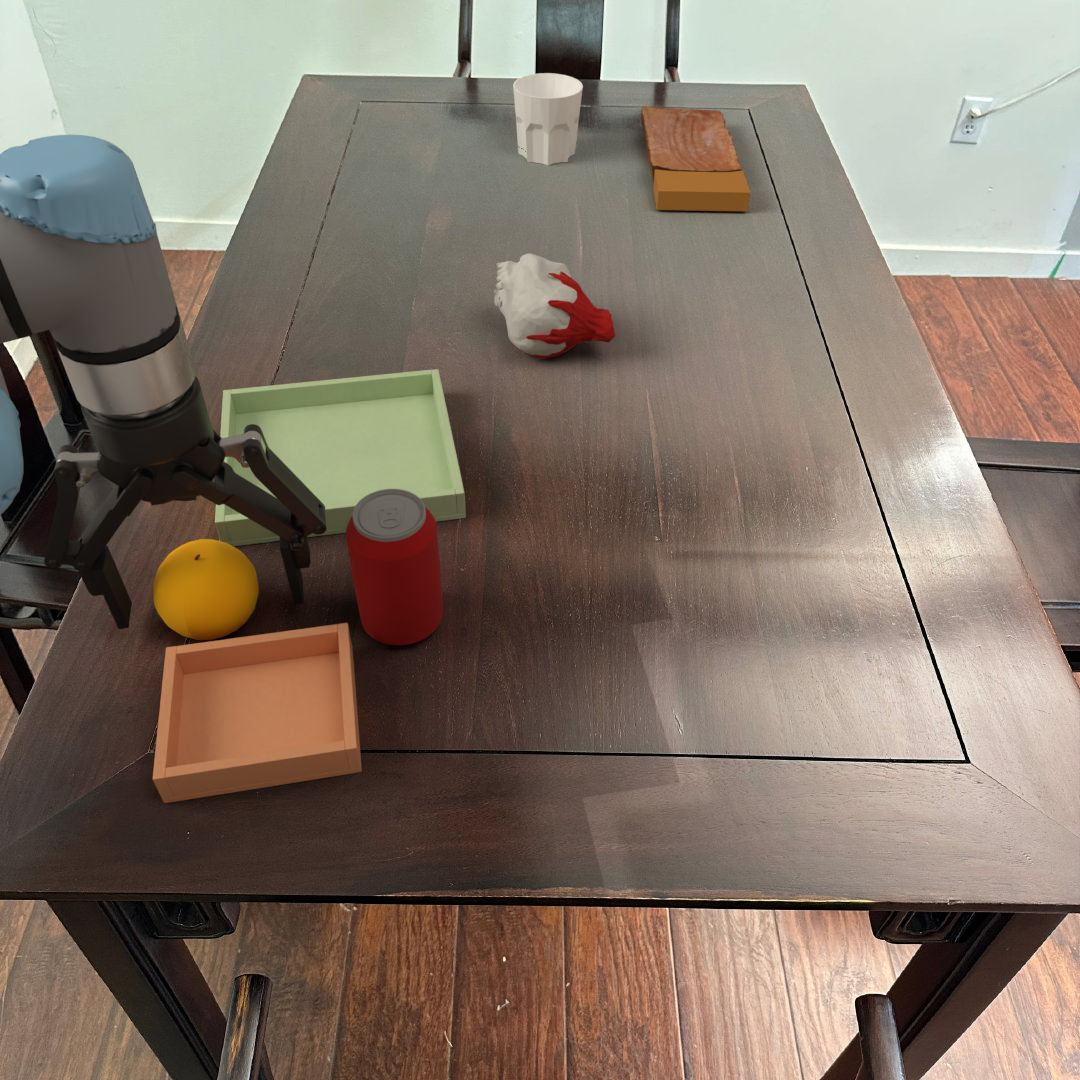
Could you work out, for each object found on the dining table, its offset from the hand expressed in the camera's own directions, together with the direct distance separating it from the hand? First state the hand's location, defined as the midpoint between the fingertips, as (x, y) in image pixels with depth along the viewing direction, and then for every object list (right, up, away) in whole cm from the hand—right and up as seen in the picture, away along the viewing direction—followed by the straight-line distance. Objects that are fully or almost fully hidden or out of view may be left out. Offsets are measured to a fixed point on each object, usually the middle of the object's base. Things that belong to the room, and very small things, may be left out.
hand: (213, 604), depth 78 cm
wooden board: (+49, +60, +65) cm, 101 cm away
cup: (+27, +63, +68) cm, 97 cm away
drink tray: (+6, -8, -6) cm, 12 cm away
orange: (0, -1, +1) cm, 2 cm away
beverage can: (+15, -2, +1) cm, 15 cm away
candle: (+27, +27, +31) cm, 49 cm away
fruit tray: (+7, +13, +15) cm, 21 cm away
